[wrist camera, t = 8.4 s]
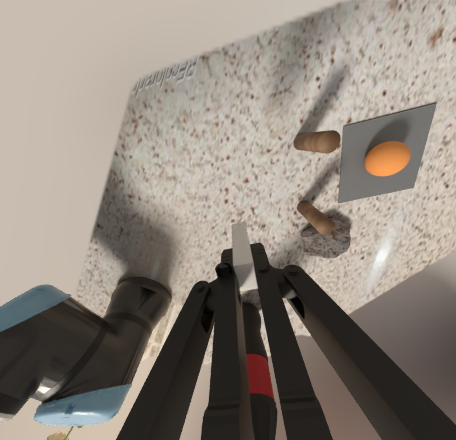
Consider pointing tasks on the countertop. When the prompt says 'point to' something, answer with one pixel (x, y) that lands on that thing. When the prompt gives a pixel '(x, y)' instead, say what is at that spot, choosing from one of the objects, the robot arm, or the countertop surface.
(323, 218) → the post
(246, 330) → the cola bottle
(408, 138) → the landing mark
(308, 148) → the post
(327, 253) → the rock
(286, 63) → the countertop surface
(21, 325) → the robot arm
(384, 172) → the ball
